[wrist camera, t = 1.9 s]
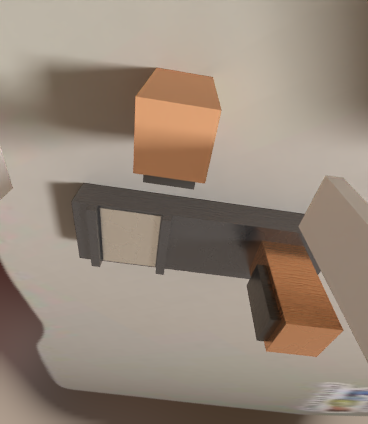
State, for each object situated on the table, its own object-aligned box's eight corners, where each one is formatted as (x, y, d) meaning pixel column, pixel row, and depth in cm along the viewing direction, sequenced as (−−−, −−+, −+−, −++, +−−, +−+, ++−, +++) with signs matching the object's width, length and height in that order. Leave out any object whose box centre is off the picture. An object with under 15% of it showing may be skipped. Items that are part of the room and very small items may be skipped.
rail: (83, 183, 24) (19, 278, 15) (329, 217, 26) (399, 324, 17) (89, 237, 28) (42, 336, 20) (300, 264, 30) (343, 368, 21)
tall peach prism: (212, 77, 18) (221, 110, 12) (200, 141, 21) (202, 195, 15) (156, 67, 18) (135, 96, 12) (152, 133, 21) (132, 185, 15)
